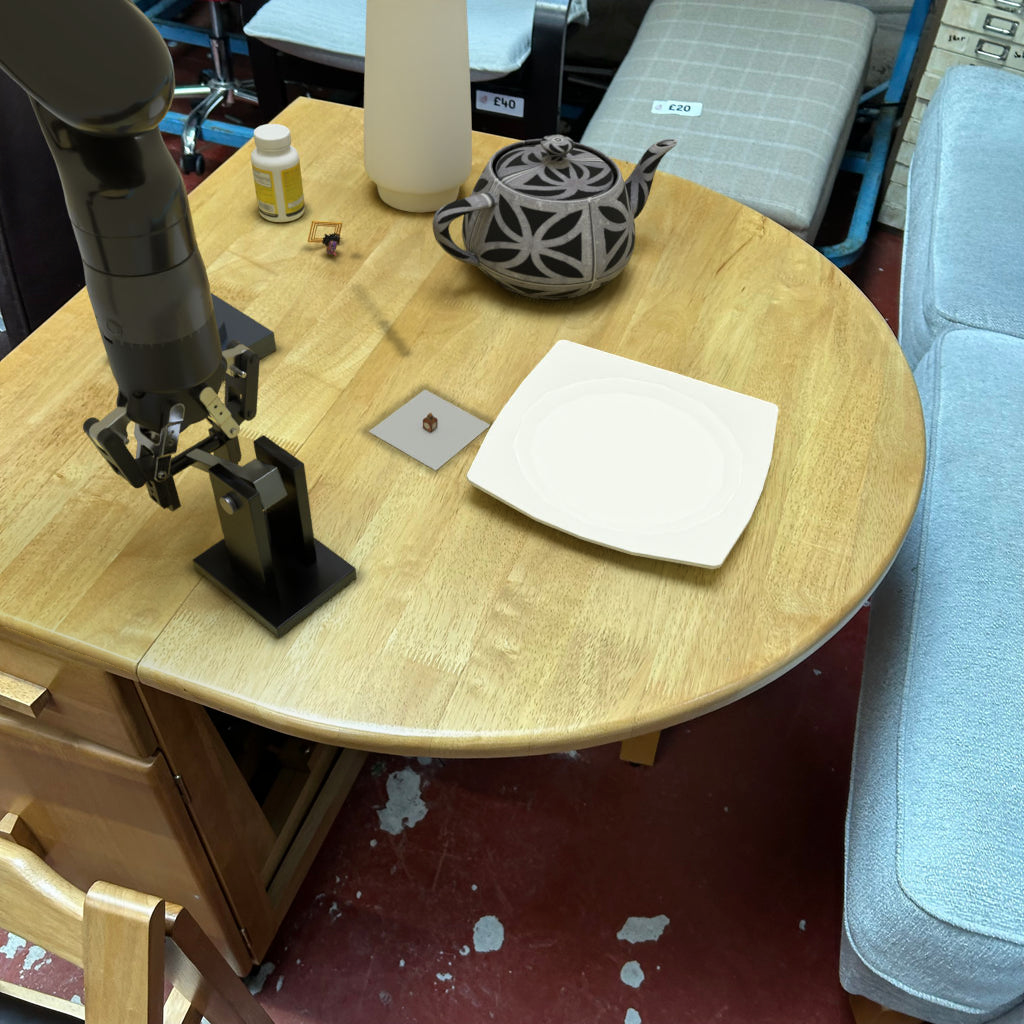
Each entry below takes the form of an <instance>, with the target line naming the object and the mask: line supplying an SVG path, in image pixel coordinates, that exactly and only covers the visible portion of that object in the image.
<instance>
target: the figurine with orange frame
mask: <svg viewBox="0 0 1024 1024" xmlns="http://www.w3.org/2000/svg"><path fill="white" fill-rule="evenodd" d="M318 227H331V228H334V231H333V233H329V234H327V233H324V237H316V234H317V230H318ZM342 228H343V222H341V221H340V222H337V221H324V220H322V221H321V220H311V223H310V228H309V234H308V237H307V242H308V243H315V244H316V243H319V244H322V245H324V246H325V247H326V248H325V252H326V253H327V255H333V256H337V253H336V251H337V246H340V244H341V243H340V242H341V240H342V239H343V238H342V237H341V231H342Z"/></svg>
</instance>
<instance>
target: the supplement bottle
mask: <svg viewBox="0 0 1024 1024" xmlns="http://www.w3.org/2000/svg"><path fill="white" fill-rule="evenodd" d="M253 139H254V145H255V148H253V150H252V151H251V154H250V162H251V163H250V164H251V169H252V170H251V171H252V176H253V184H254V189H255V195H256V203H257V209H258V213H259V215H260V216H261V217H262V218H263V219H265V220H267V221H270V222H273V223H287V222H292V221H295V220H297V219H299V218H301V217H302V216H303V214H305V208H306V207H305V196H304V187H303V178H302V170H301V161H300V155H299V153H298V151H297V149H296V148H295V147H294V146H293V145H292V137H291V130H290V129H289V128H288V126H285V125H283V124H279V123H266V124H263V125H262V124H261V125H259V126H258V127H256V128H255V129H254V130H253Z"/></svg>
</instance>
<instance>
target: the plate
mask: <svg viewBox="0 0 1024 1024" xmlns="http://www.w3.org/2000/svg"><path fill="white" fill-rule="evenodd" d="M779 409H780V408H779V407H778V405H777V404H776V403H774V402H771V401H767V400H764V399H760V398H757V397H754V396H751V395H747V394H745V393H741V392H738V391H735V390H732V389H728V388H725V387H722V386H719V385H715V384H712V383H708V382H706V381H702V380H699V379H696V378H693V377H689V376H687V375H684V374H680V373H677V372H674V371H671V370H667V369H664V368H661V367H657V366H654V365H651V364H647V363H644V362H641V361H637V360H633V359H631V358H626V357H623V356H620V355H617V354H613V353H610V352H607V351H604V350H601V349H597V348H594V347H590V346H588V345H583V344H581V343H579V342H578V343H577V342H574V341H571V340H569V339H568V340H567V339H559V340H558V341H556V343H555V344H554V345H553V346H552V347H551V348H550V350H548V352H547V353H546V354H545V355H544V356H543V358H542V359H541V360H540V361H539V362H538V363H537V364H536V365H535V367H534V368H533V369H532V370H531V371H530V372H529V374H528V375H527V376H526V377H525V378H524V379H523V380H522V382H521V383H520V384H519V385H518V387H517V388H516V390H515V391H514V392H513V394H512V395H511V396H510V398H509V399H508V400H507V401H506V403H505V404H504V406H503V408H502V409H501V411H500V412H499V414H498V415H497V417H496V418H495V420H494V422H492V424H491V425H490V428H489V429H488V431H487V433H486V436H485V437H484V440H483V441H482V443H481V445H480V447H479V449H478V451H477V453H476V455H475V456H474V457H475V458H474V459H473V461H472V464H471V466H470V467H469V470H468V471H467V473H466V477H465V478H466V481H467V482H468V484H470V485H471V486H472V487H475V488H476V489H478V490H480V491H482V492H483V493H485V494H487V495H489V496H491V497H493V498H494V499H496V500H498V501H500V502H501V503H503V504H505V505H506V506H509V507H510V508H512V509H514V510H515V511H516V512H517V511H518V512H519V513H521V514H523V515H525V516H527V517H528V518H530V519H532V520H534V521H535V522H538V523H540V524H543V525H545V526H548V527H550V528H552V529H555V530H558V531H559V532H563V533H565V534H567V535H570V536H573V537H575V538H577V539H580V540H582V541H585V542H588V543H591V544H594V545H598V546H600V547H601V546H602V547H605V548H608V549H611V550H614V551H617V552H621V553H625V554H628V555H631V556H636V557H640V558H641V557H643V558H649V559H653V560H659V561H665V562H670V563H675V564H680V565H681V564H682V565H688V566H693V567H698V568H703V569H709V570H715V569H719V568H721V567H722V566H723V564H724V562H725V561H726V559H727V558H728V556H729V555H730V553H731V551H732V550H733V549H734V546H735V545H736V544H737V542H738V540H739V539H740V538H741V536H742V534H743V533H744V531H745V529H746V528H747V526H748V525H749V523H750V521H751V519H752V517H753V514H754V512H755V509H756V507H757V504H758V503H759V501H760V498H761V495H762V493H763V490H764V486H765V482H766V479H767V476H768V473H769V468H770V466H771V462H772V458H773V451H774V444H775V437H776V429H777V422H778V417H779V416H778V415H779V411H780V410H779Z"/></svg>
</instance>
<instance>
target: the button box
mask: <svg viewBox="0 0 1024 1024" xmlns="http://www.w3.org/2000/svg"><path fill="white" fill-rule="evenodd" d="M211 296H212V301H213V307H214V312H215V317H216V322H217V327H218V332H219V337H220V342H221V347H222V351H225V350H226V348H227V345H228V343H229V342H231V341H232V340H237V341H238V342H240V343H241V344H243V345H244V346H246V347H247V348H249V349H250V350H252V351H254V352H255V353H257V354H258V355H259V357H260V360H261V359H263V358H265V357H267V356H269V355H270V354H272V353H274V352H275V351H277V344H276V337H275V332H274V331H273V330H271V329H270V328H268V327H267V326H265V325H263V324H261V323H260V322H258V321H257V320H256V319H254V318H252V317H250V316H249V315H247V314H246V313H244V312H242V311H241V310H239V309H237V308H236V307H235V306H234V305H232V304H230V303H229V302H227V301H225V300H224V299H222V298H221V297H219V296H218V295H215V294H214V293H213V292H211ZM223 381H225V377H224V379H223Z"/></svg>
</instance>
